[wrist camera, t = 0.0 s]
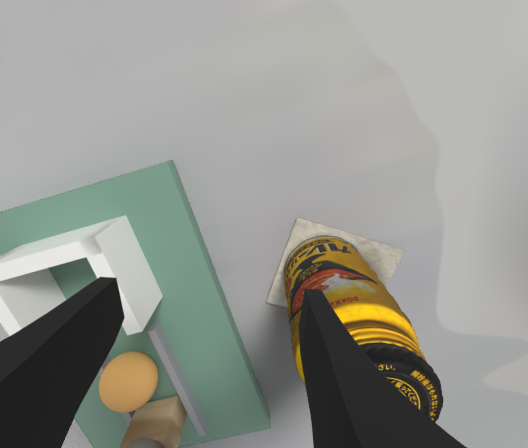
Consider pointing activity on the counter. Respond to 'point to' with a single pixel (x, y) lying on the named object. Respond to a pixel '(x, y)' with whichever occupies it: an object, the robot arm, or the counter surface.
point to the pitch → (167, 311)
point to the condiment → (356, 304)
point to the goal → (69, 249)
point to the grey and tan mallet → (156, 425)
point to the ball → (128, 381)
